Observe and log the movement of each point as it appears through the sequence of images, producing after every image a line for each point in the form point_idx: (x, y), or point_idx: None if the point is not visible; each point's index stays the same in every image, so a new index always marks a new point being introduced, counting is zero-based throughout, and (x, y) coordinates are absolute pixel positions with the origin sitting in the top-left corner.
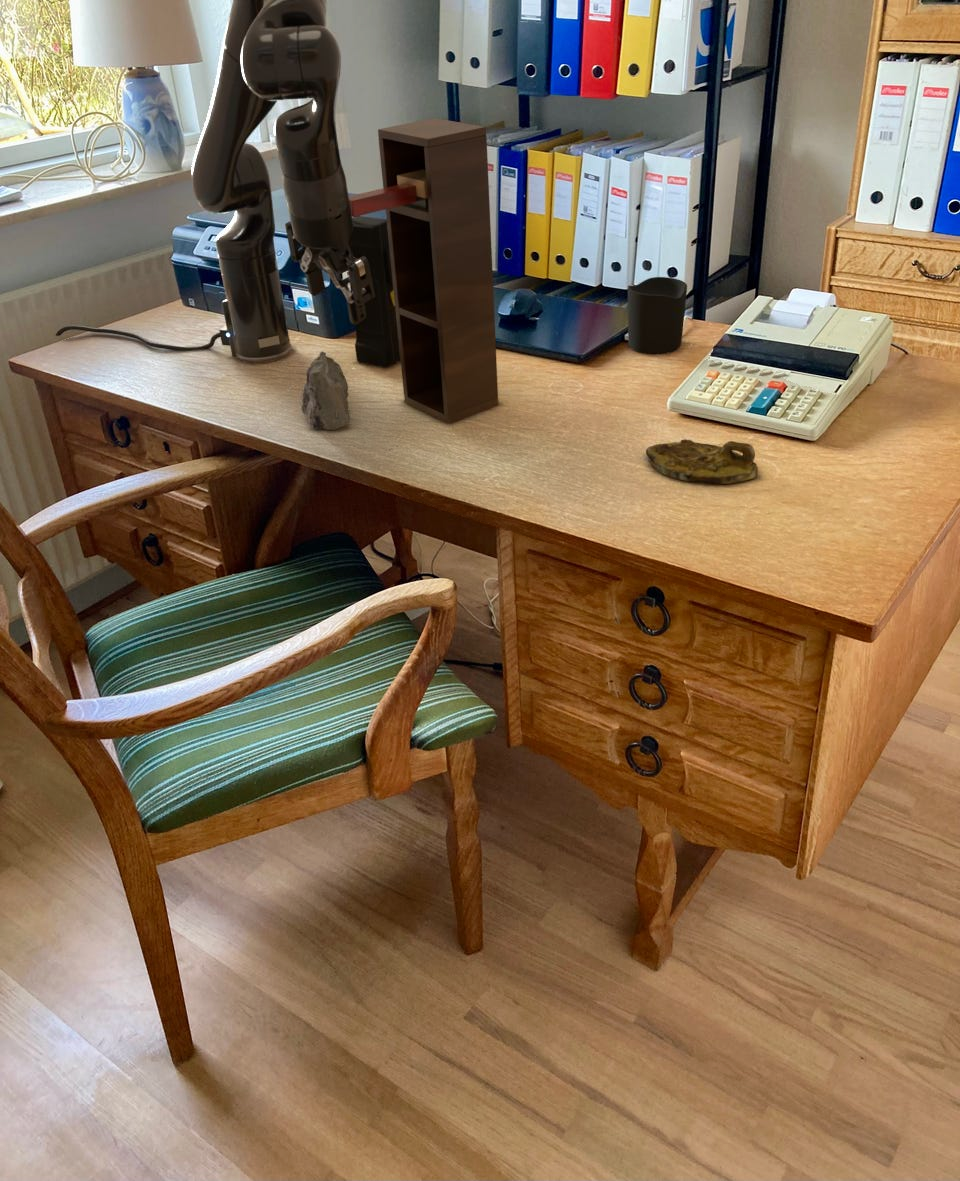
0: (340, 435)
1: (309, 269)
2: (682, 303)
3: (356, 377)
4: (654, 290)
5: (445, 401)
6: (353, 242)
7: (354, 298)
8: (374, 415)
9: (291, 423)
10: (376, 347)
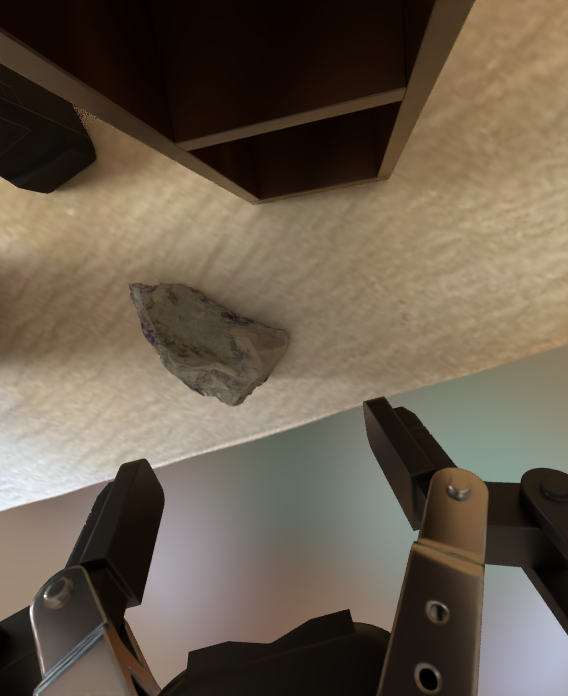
0: (302, 354)
1: (123, 618)
2: None
3: (108, 225)
4: None
5: (388, 168)
6: None
7: (528, 573)
8: (268, 275)
9: None
10: (50, 156)
